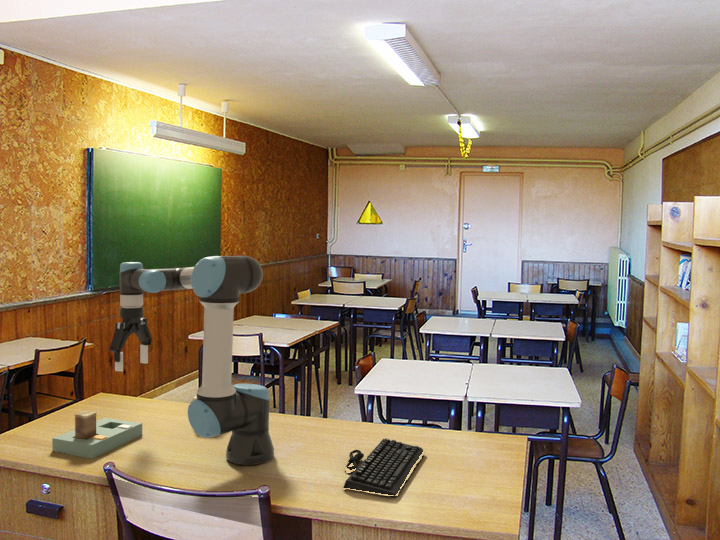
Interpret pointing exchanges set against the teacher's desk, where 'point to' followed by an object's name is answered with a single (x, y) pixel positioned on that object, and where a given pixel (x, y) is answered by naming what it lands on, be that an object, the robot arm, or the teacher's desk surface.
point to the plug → (85, 425)
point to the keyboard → (383, 467)
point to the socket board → (97, 444)
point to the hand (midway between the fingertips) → (131, 367)
